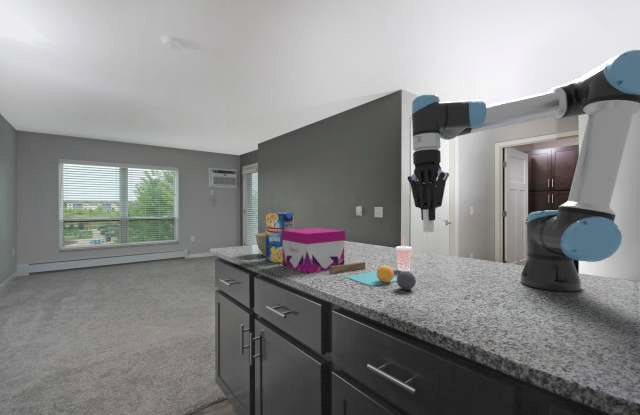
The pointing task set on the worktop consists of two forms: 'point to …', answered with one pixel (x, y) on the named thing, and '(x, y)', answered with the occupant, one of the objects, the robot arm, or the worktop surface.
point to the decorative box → (313, 249)
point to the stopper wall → (347, 267)
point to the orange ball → (385, 274)
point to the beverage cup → (403, 257)
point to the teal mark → (369, 279)
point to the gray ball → (406, 280)
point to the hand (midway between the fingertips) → (428, 231)
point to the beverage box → (277, 234)
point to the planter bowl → (261, 242)
